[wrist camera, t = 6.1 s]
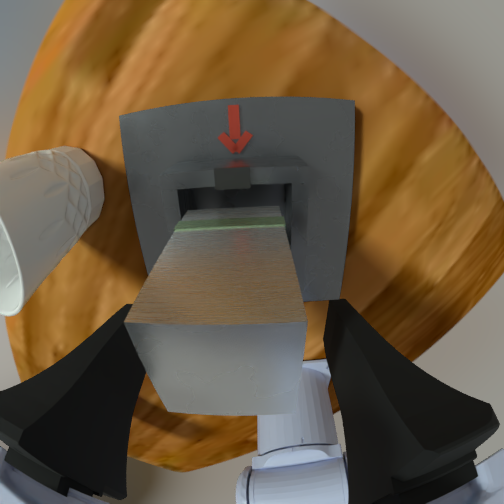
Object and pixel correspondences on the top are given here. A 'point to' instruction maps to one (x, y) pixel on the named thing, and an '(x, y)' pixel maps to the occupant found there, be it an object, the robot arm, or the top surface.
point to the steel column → (223, 315)
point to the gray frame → (248, 173)
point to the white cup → (42, 216)
